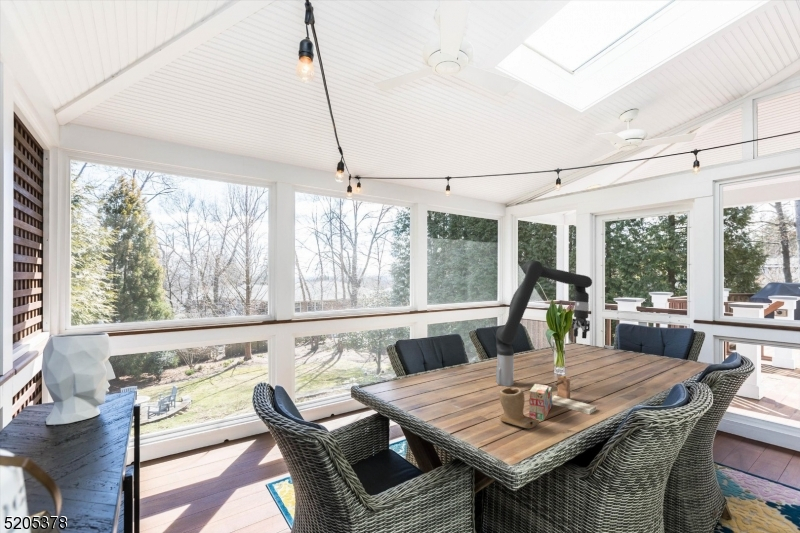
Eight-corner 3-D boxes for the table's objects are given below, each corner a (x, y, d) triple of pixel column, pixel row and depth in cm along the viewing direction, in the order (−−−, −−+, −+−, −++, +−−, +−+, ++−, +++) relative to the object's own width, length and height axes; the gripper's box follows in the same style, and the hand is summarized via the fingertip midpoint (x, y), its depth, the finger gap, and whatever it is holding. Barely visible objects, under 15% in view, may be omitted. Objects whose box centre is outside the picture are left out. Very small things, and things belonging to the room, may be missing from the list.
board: (547, 402, 181) (547, 398, 181) (554, 398, 186) (554, 395, 186) (589, 414, 166) (589, 410, 166) (596, 410, 171) (596, 406, 171)
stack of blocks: (538, 403, 180) (538, 378, 180) (552, 406, 176) (552, 380, 177) (529, 417, 162) (529, 390, 162) (543, 421, 158) (544, 392, 159)
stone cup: (493, 422, 156) (493, 387, 156) (508, 415, 164) (508, 382, 164) (525, 434, 145) (525, 396, 145) (539, 426, 153) (540, 390, 153)
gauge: (561, 397, 189) (561, 374, 189) (570, 399, 186) (570, 376, 186) (552, 402, 182) (552, 378, 182) (561, 404, 178) (561, 380, 179)
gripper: (568, 308, 219) (567, 335, 218) (582, 309, 205) (580, 338, 204) (580, 309, 220) (578, 336, 219) (594, 311, 206) (593, 339, 204)
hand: (579, 337), depth 211 cm, fingers open, 8 cm apart
